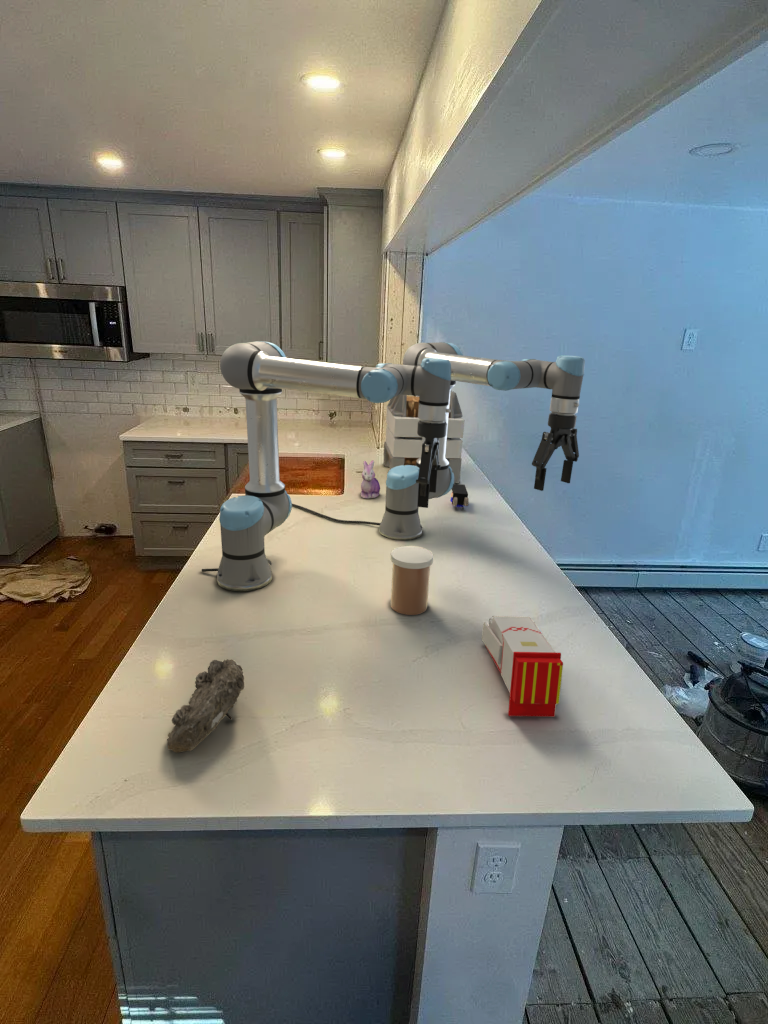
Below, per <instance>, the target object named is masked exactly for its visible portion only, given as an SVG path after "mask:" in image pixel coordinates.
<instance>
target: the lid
mask: <svg viewBox="0 0 768 1024" xmlns="http://www.w3.org/2000/svg"><path fill="white" fill-rule="evenodd" d="M390 561H391V563H392V564H393V563H394V564H395V565H397V566H400V567H403V568H408V569H421V568H426V567H428V566H430V567H431V566H432V565H433V563H434V553H433V552H432V551H431V550H430V549H428V548H425V547H422V546H417V545H401V546H398V547H395V548H393V549H392V550H391V551H390Z"/></svg>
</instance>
